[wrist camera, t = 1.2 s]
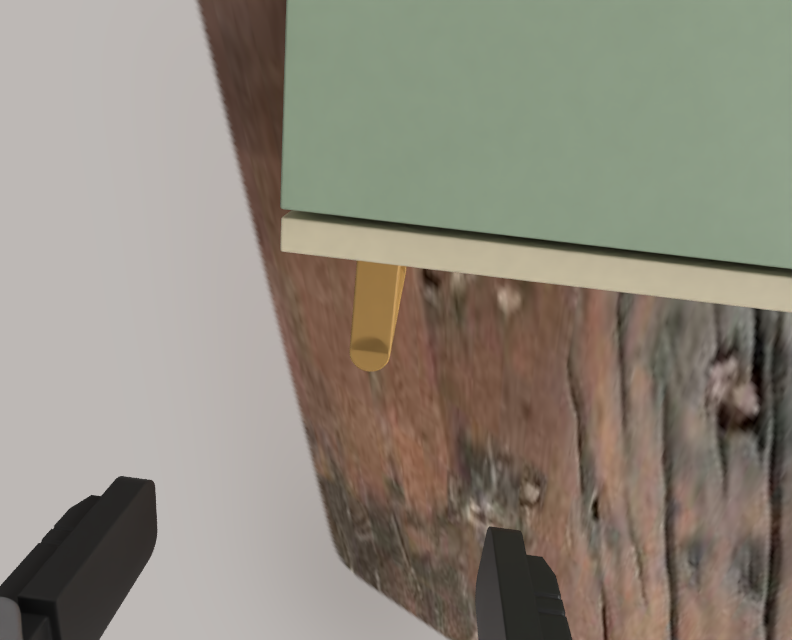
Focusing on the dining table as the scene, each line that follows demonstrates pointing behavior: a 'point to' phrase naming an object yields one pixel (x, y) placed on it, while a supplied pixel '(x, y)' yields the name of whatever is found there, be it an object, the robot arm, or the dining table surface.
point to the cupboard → (548, 120)
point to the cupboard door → (509, 269)
